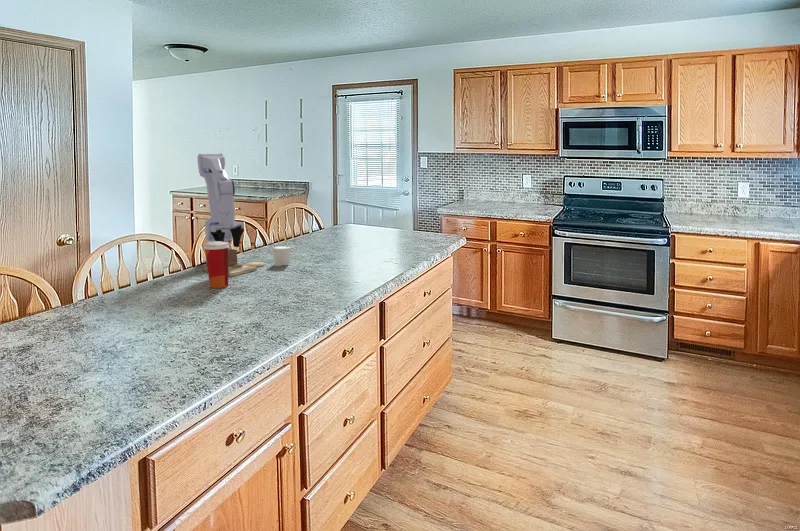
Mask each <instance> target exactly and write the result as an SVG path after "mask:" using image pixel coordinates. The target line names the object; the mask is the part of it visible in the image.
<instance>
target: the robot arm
mask: <svg viewBox="0 0 800 531" xmlns="http://www.w3.org/2000/svg"><path fill="white" fill-rule="evenodd" d="M225 159H226V158H225V155H224V154H223V153H198V155H197V167H198V173H199V176H200V177H202V178H204V181H205V184H206V191H207V199H208V205H209V206H208V207H209V212H210V213H209V214H210V217H209V218H208V219H207V220H206V221H205V224H204V228H205V229H204V232H205V238H206V240H207V241H206V242H205V243H208V242H215V241H222V242H227V243H228V245H229V247H228V249H230V243H229V241H230V240H231V239H232V245H233V247H234V248H239V247H240V242H241V239H242V235H243V233H244V231H245V228H244V225H245V224H244V221H236V217H235V216H236V215H235V203H234V202H235V201H234V196H235V195H236V186H235V181H234V179H231V178H230V177H229V175H228V173H227V171H226V170H225V166H226V160H225ZM204 255H205V257H206V254H204ZM203 262H204V263H207V262H206V260H204V261H203Z"/></svg>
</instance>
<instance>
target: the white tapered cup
mask: <svg viewBox="0 0 800 531" xmlns="http://www.w3.org/2000/svg"><path fill="white" fill-rule="evenodd" d="M272 253H273V260H274V266H276V265H278V266H277V267H283V266H282V265H285V266H289V265H290V253H291V247H290V246H286V245H280V246H279V245H277V246H273V247H272ZM288 264H289V265H288Z"/></svg>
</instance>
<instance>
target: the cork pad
mask: <svg viewBox="0 0 800 531" xmlns="http://www.w3.org/2000/svg"><path fill="white" fill-rule="evenodd" d="M243 265H246V266H253V267H257V268H261V266H262V267H264V266H266V263H265V262H261V261H256V262H255V261H254V262H253V261H252V262H247V263H245V264H243Z"/></svg>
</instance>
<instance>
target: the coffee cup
mask: <svg viewBox="0 0 800 531" xmlns="http://www.w3.org/2000/svg"><path fill="white" fill-rule="evenodd" d="M228 247H229V248H230V244H229V245H228V243H227V242H222V241H215V242H208V243H206V242H205V243H204V246H203V249H204V253H205V254H206V256H205V261H206V262H205V263H206V267H207V269H208V272H207V276H208V282H209V288H211V289H216V288H217V289H224V288H223V287H225V288H228V287H227V286H229V276H228ZM205 254H204V255H205Z"/></svg>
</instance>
